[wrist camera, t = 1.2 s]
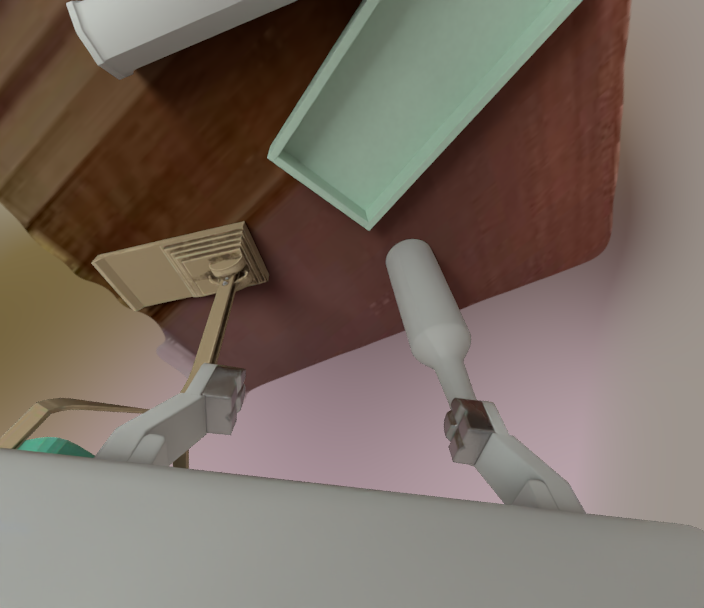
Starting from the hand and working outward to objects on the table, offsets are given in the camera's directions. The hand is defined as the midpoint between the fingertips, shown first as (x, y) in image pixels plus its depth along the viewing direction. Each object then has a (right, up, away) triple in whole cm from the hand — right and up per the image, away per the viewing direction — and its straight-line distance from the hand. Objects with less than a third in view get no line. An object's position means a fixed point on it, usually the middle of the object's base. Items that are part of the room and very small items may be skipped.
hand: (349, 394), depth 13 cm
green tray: (+6, +26, +19) cm, 33 cm away
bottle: (+8, +10, +35) cm, 37 cm away
